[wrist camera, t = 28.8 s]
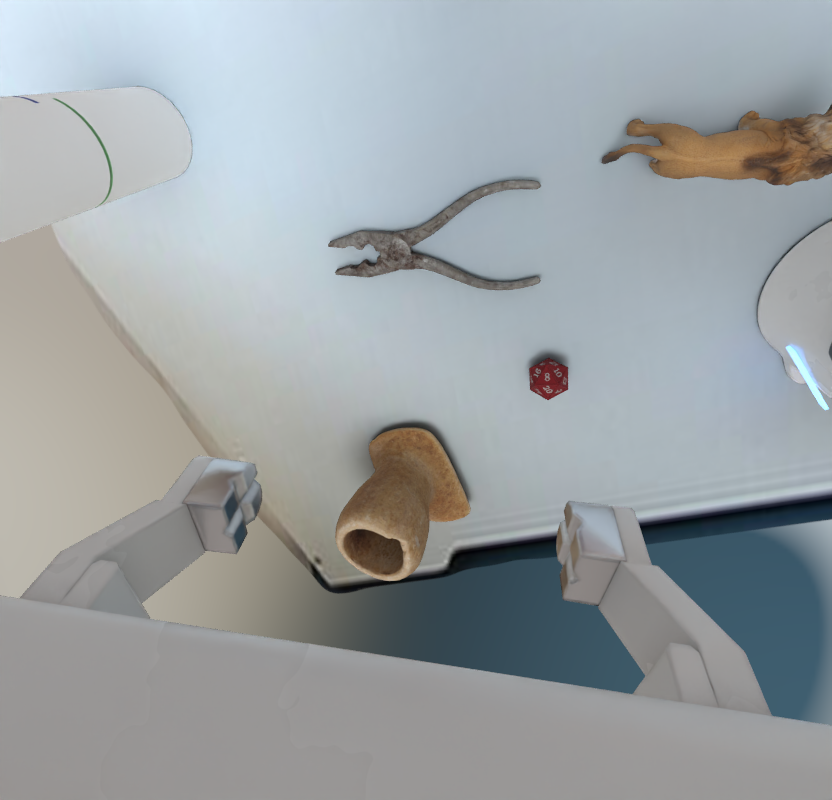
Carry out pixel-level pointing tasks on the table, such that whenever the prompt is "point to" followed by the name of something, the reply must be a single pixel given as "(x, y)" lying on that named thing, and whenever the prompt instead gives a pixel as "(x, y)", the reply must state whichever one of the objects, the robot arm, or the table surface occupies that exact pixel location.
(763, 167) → the lion figurine
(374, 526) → the stone cup
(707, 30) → the table surface
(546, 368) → the dice
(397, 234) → the pliers
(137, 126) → the cylindrical container
